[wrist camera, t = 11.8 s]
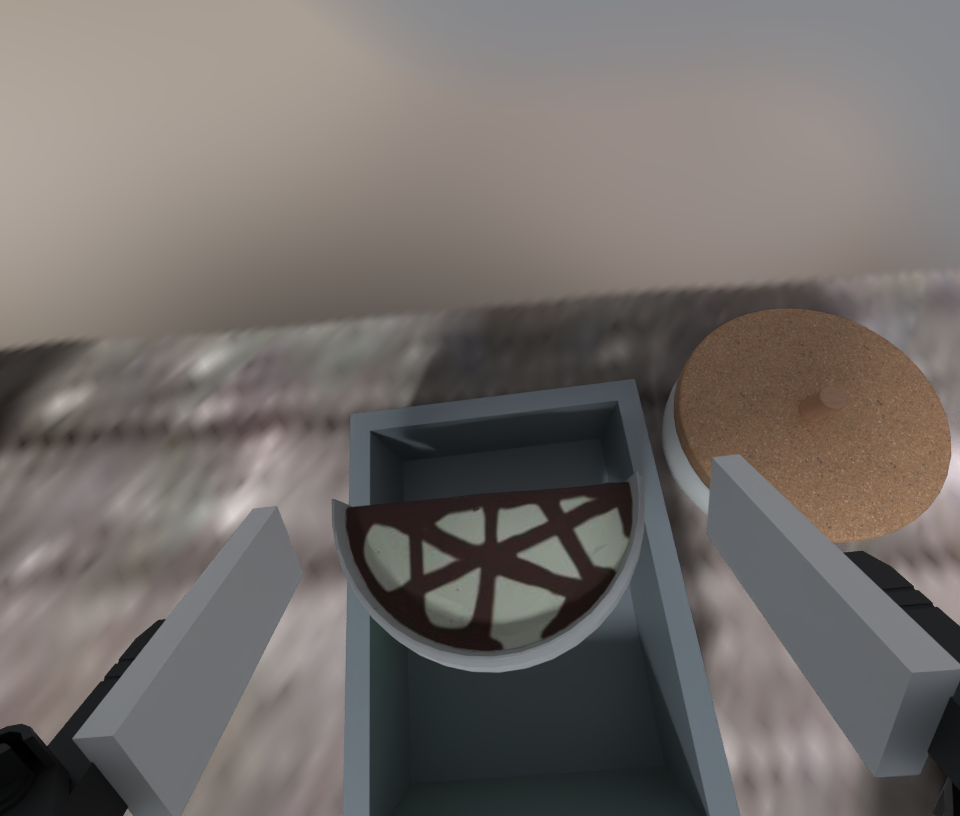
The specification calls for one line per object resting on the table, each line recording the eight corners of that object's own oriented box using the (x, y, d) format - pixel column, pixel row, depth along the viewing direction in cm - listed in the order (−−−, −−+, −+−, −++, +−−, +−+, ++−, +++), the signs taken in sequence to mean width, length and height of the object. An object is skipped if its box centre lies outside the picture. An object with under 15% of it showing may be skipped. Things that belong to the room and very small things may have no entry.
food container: (392, 658, 23) (301, 692, 14) (393, 537, 26) (317, 500, 17) (632, 643, 22) (700, 669, 13) (610, 519, 25) (653, 469, 16)
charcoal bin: (396, 801, 22) (341, 891, 16) (391, 451, 29) (350, 414, 22) (685, 782, 21) (753, 870, 15) (610, 425, 28) (634, 378, 21)
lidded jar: (853, 561, 24) (1037, 549, 15) (644, 545, 25) (703, 525, 17) (817, 378, 28) (947, 285, 19) (637, 373, 29) (681, 283, 20)
